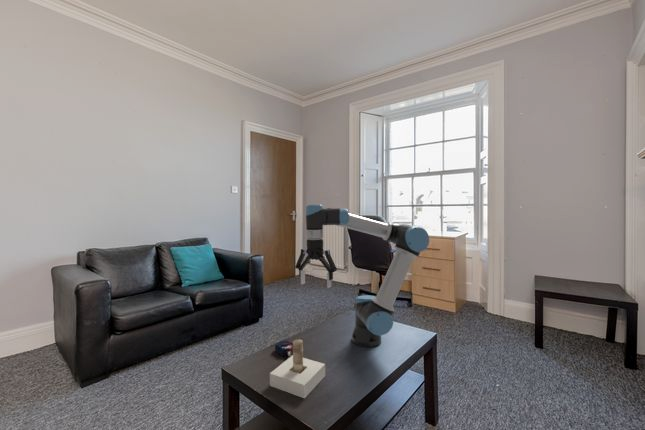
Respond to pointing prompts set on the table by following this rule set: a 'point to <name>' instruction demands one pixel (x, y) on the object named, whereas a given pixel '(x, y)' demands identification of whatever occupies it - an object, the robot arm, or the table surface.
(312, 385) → the socket block
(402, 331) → the table surface
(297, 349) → the dowel
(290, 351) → the figurine
